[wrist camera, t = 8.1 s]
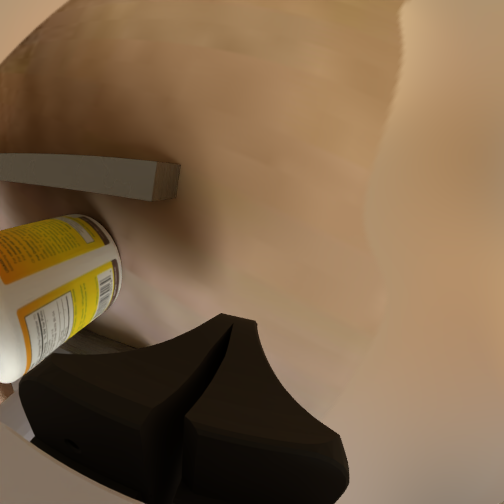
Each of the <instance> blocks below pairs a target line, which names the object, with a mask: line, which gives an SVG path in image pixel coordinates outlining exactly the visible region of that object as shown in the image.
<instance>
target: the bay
mask: <svg viewBox="0 0 504 504" xmlns="http://www.w3.org/2000/svg"><path fill="white" fill-rule="evenodd" d="M180 166H181V165H178V164H171V163H163V162H155V161H146V160H136V159H125V158H113V157H100V156H85V155H66V154H34V153H0V180H1V181H10V182H18V183H27V184H35V185H43V186H50V187H58V188H65V189H73V190H80V191H87V192H94V193H100V194H107V195H114V196H120V197H127V198H133V199H139V200H145V201H157V200H164V199H170V198H176V192H177V185H178V178H179V172H180ZM135 349H136V348H134V347H131V346H128V345H125V344H122V343H119V342H117V341H114V340H111V339H108V338H106V337H103V336H101V335H98V334H95V333H93V332H90V331H88V330H85V329H83V328H82V329H81V330H80V331H78V332H77V333H76V334H75V335H73V336H72V337H71V338H69V339H68V340H67V341H65V342H64V343H63V344H62V345H60V346H59V347H58V348H56V349H55V350H54V351H53V352H51V353H50V354H49V355H51V354H52V353H62V354H82V355H91V354H109V353H118V352H125V351H130V350H135ZM49 355H48V356H49ZM48 356H46V357H45V358H44V359H46V358H47V357H48Z"/></svg>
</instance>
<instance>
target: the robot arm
mask: <svg viewBox="0 0 504 504" xmlns="http://www.w3.org/2000/svg"><path fill="white" fill-rule="evenodd" d="M11 384H12V387H13V390H14V393H13V394H11V395H10V396H9V397H8V398H7V399H6V400H4V401H3V402H2V403H1V404H0V504H334V503H335V502H336V501H337V500H338V499H339V498H340V497H341V495H342V494H343V493H344V492H345V490H346V488H347V486H348V485H349V467H348V461H347V458H346V454H345V451H344V447H343V444H342V441H341V438H340V435H339V434H337V433H336V432H334V431H333V430H331V429H330V428H328V427H327V426H326V425H324V424H323V423H321V422H320V421H318V420H317V419H316V418H314V417H313V416H312V415H311V414H309V413H308V412H307V411H306V410H305V409H304V408H303V407H301V406H300V405H299V404H298V403H297V402H296V401H295V400H294V398H293V397H292V396H291V395H290V394H289V393H288V392H287V391H286V389H285V388H284V387H283V386H282V384H281V383H280V381H279V380H278V378H277V377H276V375H275V374H274V372H273V370H272V368H271V366H270V364H269V362H268V360H267V358H266V356H265V353H264V351H263V348H262V345H261V343H260V339H259V335H258V330H257V323H256V321H254V320H249V319H245V318H240V317H236V316H231V315H227V314H223V313H221V314H219V315H217V316H215V317H214V318H212V319H210V320H209V321H207V322H205V323H203V324H202V325H200V326H198V327H196V328H194V329H193V330H191V331H188V332H186V333H184V334H182V335H180V336H177V337H175V338H173V339H170V340H168V341H165V342H162V343H159V344H156V345H152V346H149V347H145V348H140V349H135V350H130V351H125V352H118V353H109V354H91V355H82V354H62V353H52V354H51V355H49V356H48V357H47V358H46V359H44V360H43V361H42V362H41V363H39V364H38V365H37V366H36V367H34V368H33V369H32V370H31V371H29V372H28V373H27V374H26V375H24V376H22V377H20V378H19V379H17V380H16V381H14V382H12V383H11ZM499 504H504V502H502V503H499Z"/></svg>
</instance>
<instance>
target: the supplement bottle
mask: <svg viewBox="0 0 504 504" xmlns="http://www.w3.org/2000/svg"><path fill="white" fill-rule="evenodd" d="M121 281H122V266H121V260H120V256H119V253H118V250H117V247H116V245H115V243H114V241H113V239H112V238H111V236H110V235H109V233H108V232H107V231H106V230H105V228H104V227H103V226H102V225H101V224H99V223H98V222H97V221H95V220H94V219H92V218H90V217H88V216H85V215H81V214H70V215H65V216H60V217H55V218H51V219H47V220H42V221H38V222H34V223H29V224H25V225H21V226H17V227H13V228H9V229H5V230H1V231H0V382H1V383H12V382H14V381H16V380H17V379H19V378H20V377H22V376H23V375H24V374H25V373H27V372H28V371H29V370H30V369H31V368H33V367H34V366H35V365H36V364H38V363H39V362H40V361H41V360H43V359H44V358H45V357H46V356H48V355H49V354H50V353H51V352H53V351H54V350H55V349H56V348H58V347H59V346H60V345H62V344H63V343H64V342H65V341H67V340H68V339H69V338H71V337H72V336H73V335H75V334H76V333H77V332H78V331H80V330H81V329H82V328H84V327H85V326H86V325H88V324H89V323H90V322H91V321H93V320H94V319H95V318H97V317H98V316H99V315H101V314H102V313H103V312H105V311H106V310H107V309H108V308H109V307H110V306H111V305H112V304H113V303H114V301H115V300H116V298H117V296H118V294H119V291H120V287H121Z"/></svg>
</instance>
